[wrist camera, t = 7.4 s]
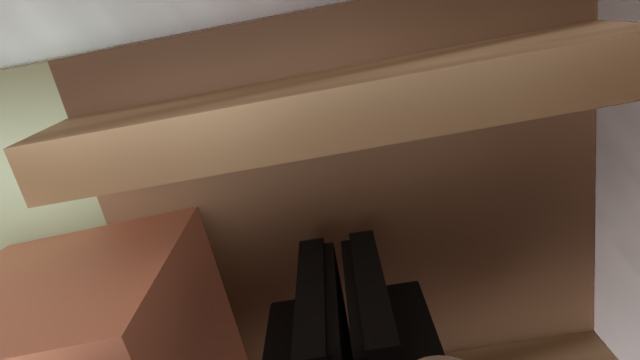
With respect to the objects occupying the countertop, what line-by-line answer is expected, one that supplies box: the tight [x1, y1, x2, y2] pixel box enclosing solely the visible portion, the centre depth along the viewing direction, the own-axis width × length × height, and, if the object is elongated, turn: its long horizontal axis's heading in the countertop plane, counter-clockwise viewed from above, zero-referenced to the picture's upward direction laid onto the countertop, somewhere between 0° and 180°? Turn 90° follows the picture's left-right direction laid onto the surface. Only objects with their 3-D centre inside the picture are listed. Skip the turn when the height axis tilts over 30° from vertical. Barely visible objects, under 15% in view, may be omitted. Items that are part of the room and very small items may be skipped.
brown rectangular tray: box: [0, 0, 640, 360], centre depth 14 cm, size 12×24×6 cm, turn 100°
